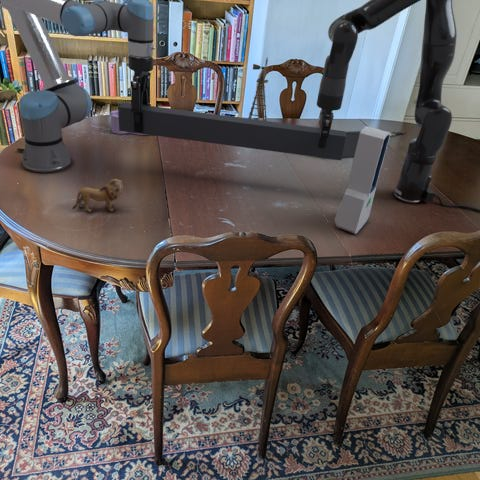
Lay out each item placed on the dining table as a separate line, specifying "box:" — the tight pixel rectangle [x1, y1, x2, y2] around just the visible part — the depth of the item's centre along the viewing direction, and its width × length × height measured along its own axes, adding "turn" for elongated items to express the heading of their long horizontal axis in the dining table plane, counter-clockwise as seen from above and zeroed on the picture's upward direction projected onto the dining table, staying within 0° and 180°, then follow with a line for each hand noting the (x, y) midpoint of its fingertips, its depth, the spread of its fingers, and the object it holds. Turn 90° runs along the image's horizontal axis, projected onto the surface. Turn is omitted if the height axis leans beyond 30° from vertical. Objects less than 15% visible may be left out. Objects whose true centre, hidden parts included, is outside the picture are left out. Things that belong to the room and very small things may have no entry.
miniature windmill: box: [247, 57, 269, 121], centre depth 203 cm, size 9×8×30 cm
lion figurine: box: [71, 178, 124, 213], centre depth 135 cm, size 15×5×9 cm, turn 110°
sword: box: [390, 131, 407, 137], centre depth 214 cm, size 31×3×1 cm, turn 126°
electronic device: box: [334, 125, 392, 235], centre depth 136 cm, size 12×8×30 cm, turn 148°
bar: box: [117, 101, 346, 161], centre depth 152 cm, size 73×5×8 cm, turn 83°
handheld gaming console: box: [342, 130, 362, 158], centre depth 188 cm, size 23×3×10 cm, turn 108°
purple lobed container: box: [109, 109, 148, 136], centre depth 192 cm, size 20×12×7 cm, turn 109°
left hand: (141, 128), depth 155 cm, fingers closed on bar, 5 cm apart
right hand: (321, 144), depth 150 cm, fingers closed on bar, 5 cm apart
